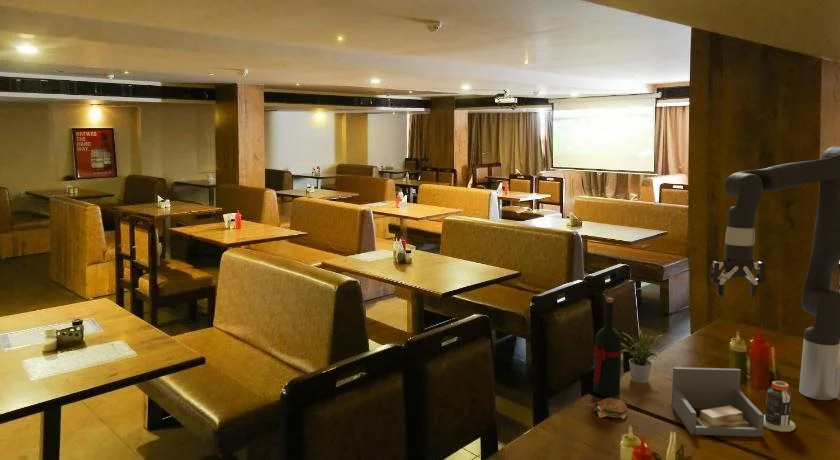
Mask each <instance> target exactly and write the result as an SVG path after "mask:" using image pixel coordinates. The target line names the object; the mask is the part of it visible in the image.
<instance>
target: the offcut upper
mask: <svg viewBox="0 0 840 460" xmlns="http://www.w3.org/2000/svg"><path fill="white" fill-rule="evenodd" d="M699 417H700V419H701V420H702V421H704V422H705V423H707V424H709V425H710V426H718V425H723V424H729V423H734V422H740V421H742V418H743V412H741V411H739V410H738V409H736V408H734V407H732V406H730V405H729V406H723V407H718V408H712V409H700V411H699Z"/></svg>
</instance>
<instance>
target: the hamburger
mask: <svg viewBox="0 0 840 460" xmlns="http://www.w3.org/2000/svg"><path fill="white" fill-rule="evenodd" d="M596 403H597V405H596ZM596 403H589V404H588V406H590V407H591V408H592V409H593V411H594V412H597V415H598V418H599V417H600V418H605V417H606V416H607V417H606V418H610V417H612V418H611V419H622V420H624V419H625V418H626V417H627V413H628V406H627V405H626V403H625V402H623V401H622V400H620V399H616V398H612V397H606V398H604V399H602V400H601V401H597V402H596ZM595 405H596V406H595ZM600 418H599V419H600Z"/></svg>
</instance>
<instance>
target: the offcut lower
mask: <svg viewBox="0 0 840 460" xmlns="http://www.w3.org/2000/svg"><path fill="white" fill-rule="evenodd" d="M696 426H710V425H709V424H707V423H705V422H704V421H702V420H701V419H700V416H699V417H696ZM718 426H725V427H749V423H748V422H747V421H746V420H744V419H743V418H742V421H740V422H734V423H729V424H723V425H718Z"/></svg>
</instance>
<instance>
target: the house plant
mask: <svg viewBox="0 0 840 460" xmlns="http://www.w3.org/2000/svg"><path fill="white" fill-rule="evenodd" d="M623 334H624V335H626V337H628V338H629V339H630V341H631V344H632V347H633V348H631V347H630V346H628V345H626V344H625V343H622V342H621V347H622V348H623V349H621V352H628V353H629V354H630V355H631V357H632V358H630V359H628V366H629V374H630V380H631V381H632V382H634V383H637V384H646V383H648V381H649V377H650V373H651V370H652V365H653V364H652V361H651V360H649V358H650V357H653V356H654V357H656V359H657V354H656V353H655V352H656V350H655V349H654V348H653V349H652V347H653V346H652V345H653V344H654V343H655V342H656V341H657V340H658V339H659V338H660V337H662V336H664V334H659V335H657V336H654V335H652V336H649V337H648V338H647V335H645V336H644V334H643V332H642V330H641V329H639V333H638V339H637V337H635V336H631V335H629V334H628V333H624V332H623ZM651 338H652V339H651ZM622 339H624V340H626V341H627V339H626V338H624V337H622ZM650 339H651V340H650ZM649 340H650V342H649V344H648V346H647V343H648V341H649ZM658 343H659V341H657V342H656V344H658ZM646 346H647V347H646Z"/></svg>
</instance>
